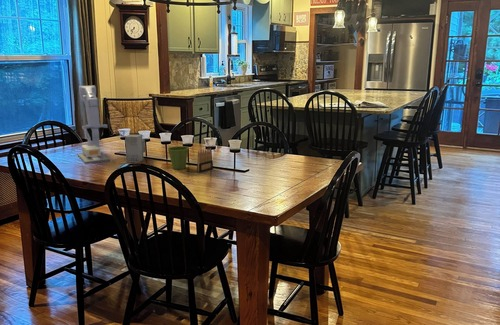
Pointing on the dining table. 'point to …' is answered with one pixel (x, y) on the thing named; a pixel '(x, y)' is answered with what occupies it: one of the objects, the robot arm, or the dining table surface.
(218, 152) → the dining table surface
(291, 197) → the dining table surface
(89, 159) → the rail board
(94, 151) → the module
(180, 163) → the plant pot
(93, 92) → the robot arm
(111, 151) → the dining table surface
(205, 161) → the ammunition clip
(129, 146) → the circuit breaker
